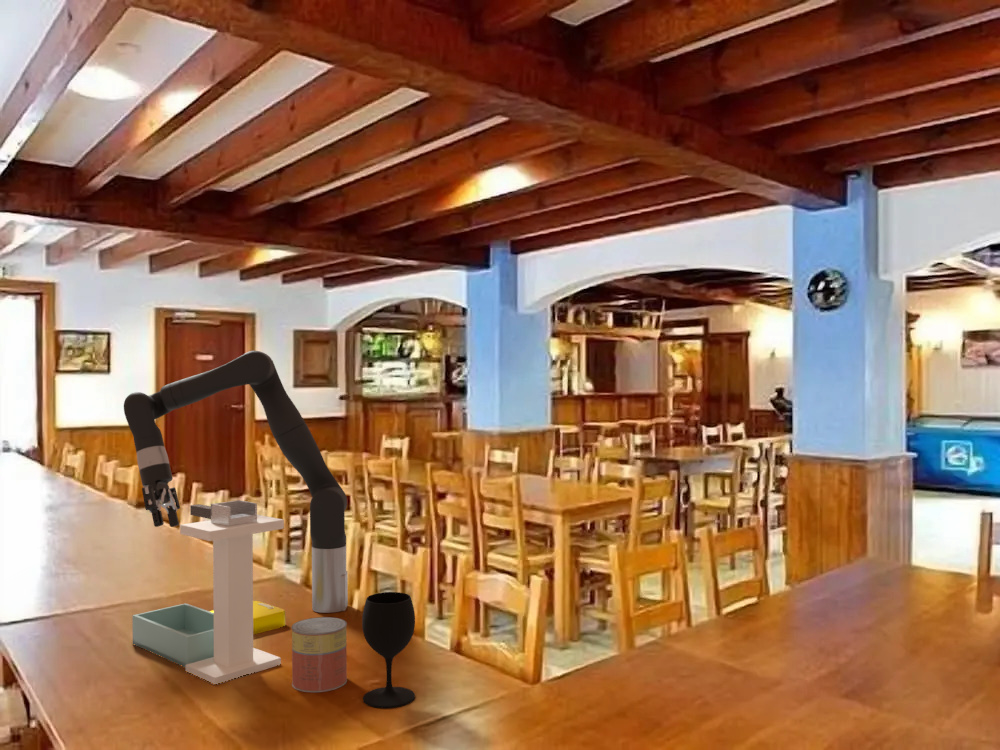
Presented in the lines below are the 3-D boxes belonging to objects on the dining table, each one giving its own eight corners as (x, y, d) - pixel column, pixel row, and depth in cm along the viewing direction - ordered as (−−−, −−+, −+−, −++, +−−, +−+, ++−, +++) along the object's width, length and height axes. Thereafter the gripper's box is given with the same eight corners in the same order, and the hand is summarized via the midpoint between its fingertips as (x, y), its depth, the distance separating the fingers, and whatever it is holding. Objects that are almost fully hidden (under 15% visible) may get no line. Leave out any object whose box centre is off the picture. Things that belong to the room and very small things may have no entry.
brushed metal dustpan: (180, 516, 193) (180, 498, 193) (208, 512, 198) (208, 494, 198) (228, 526, 180) (228, 507, 180) (257, 522, 185) (257, 503, 185)
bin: (132, 644, 202) (132, 615, 202) (186, 631, 212) (185, 603, 212) (187, 669, 185) (187, 637, 185) (242, 653, 195) (242, 622, 195)
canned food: (327, 668, 185) (327, 613, 185) (357, 682, 177) (357, 624, 177) (281, 682, 177) (281, 625, 177) (310, 697, 169) (310, 636, 169)
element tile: (288, 627, 216) (288, 608, 216) (235, 641, 205) (235, 621, 205) (257, 615, 227) (257, 597, 227) (204, 628, 216) (204, 609, 216)
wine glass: (423, 691, 171) (423, 593, 171) (401, 711, 161) (400, 606, 161) (377, 685, 175) (377, 589, 174) (353, 704, 165) (352, 602, 165)
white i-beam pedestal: (181, 672, 182) (180, 524, 182) (254, 651, 196) (253, 513, 196) (210, 686, 175) (209, 531, 174) (284, 663, 188) (283, 519, 188)
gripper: (154, 460, 216) (168, 521, 213) (179, 464, 230) (192, 522, 227) (126, 468, 216) (139, 530, 213) (153, 472, 230) (166, 530, 227)
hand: (167, 526), depth 220 cm, fingers open, 8 cm apart
